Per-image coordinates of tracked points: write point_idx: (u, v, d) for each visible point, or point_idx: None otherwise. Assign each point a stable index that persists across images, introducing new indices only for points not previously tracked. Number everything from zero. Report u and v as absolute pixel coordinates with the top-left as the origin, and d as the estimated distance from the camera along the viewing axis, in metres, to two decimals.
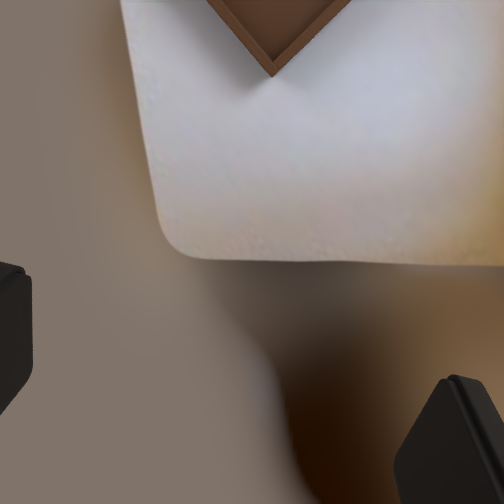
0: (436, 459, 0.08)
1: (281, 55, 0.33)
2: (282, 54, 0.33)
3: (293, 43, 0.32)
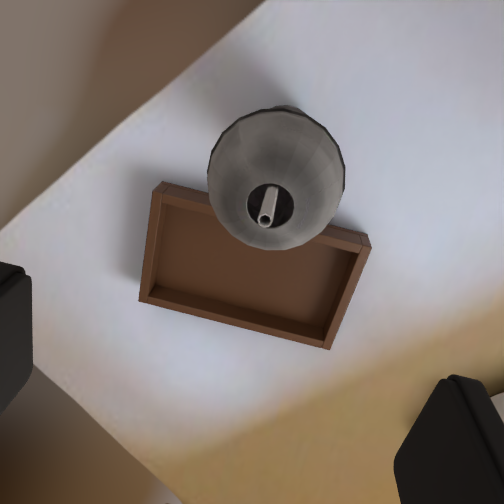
0: (436, 459, 0.08)
1: (156, 299, 0.37)
2: (157, 299, 0.37)
3: (170, 303, 0.37)
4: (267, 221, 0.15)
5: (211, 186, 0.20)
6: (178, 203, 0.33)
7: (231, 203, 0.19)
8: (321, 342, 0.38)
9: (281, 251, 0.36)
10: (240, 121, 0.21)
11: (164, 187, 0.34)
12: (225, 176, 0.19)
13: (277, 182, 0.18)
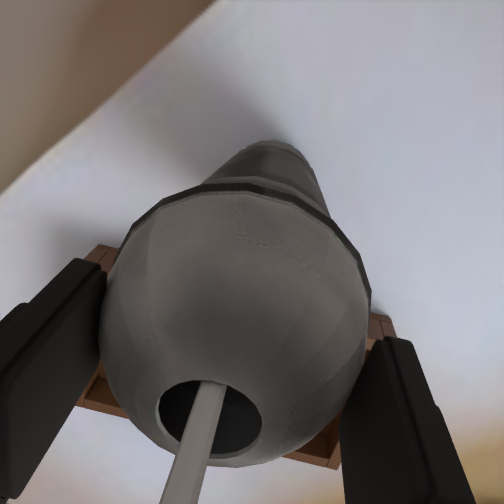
0: (367, 411, 0.09)
1: (96, 403, 0.27)
2: (98, 403, 0.27)
3: (115, 408, 0.27)
4: None
5: None
6: None
7: (128, 401, 0.09)
8: (325, 460, 0.27)
9: None
10: (162, 208, 0.10)
11: (98, 255, 0.24)
12: (117, 341, 0.09)
13: (221, 377, 0.08)
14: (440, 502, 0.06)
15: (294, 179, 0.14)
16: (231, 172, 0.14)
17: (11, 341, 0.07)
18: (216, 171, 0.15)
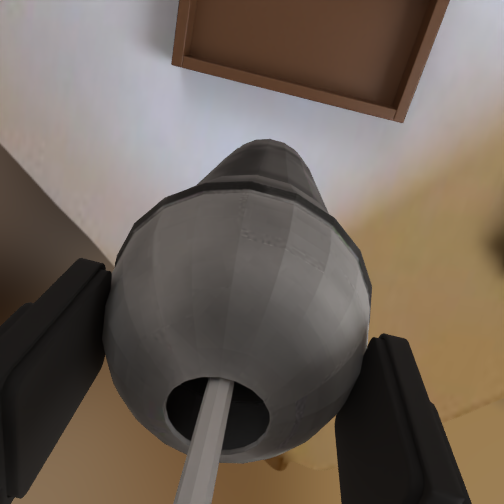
0: (363, 409, 0.09)
1: (194, 60, 0.31)
2: (195, 59, 0.31)
3: (210, 64, 0.31)
4: None
5: (103, 344, 0.10)
6: None
7: (135, 399, 0.09)
8: (393, 111, 0.31)
9: None
10: (164, 207, 0.10)
11: None
12: (123, 340, 0.09)
13: (230, 374, 0.08)
14: (434, 498, 0.06)
15: (292, 177, 0.14)
16: (230, 171, 0.14)
17: (17, 341, 0.07)
18: (214, 170, 0.15)
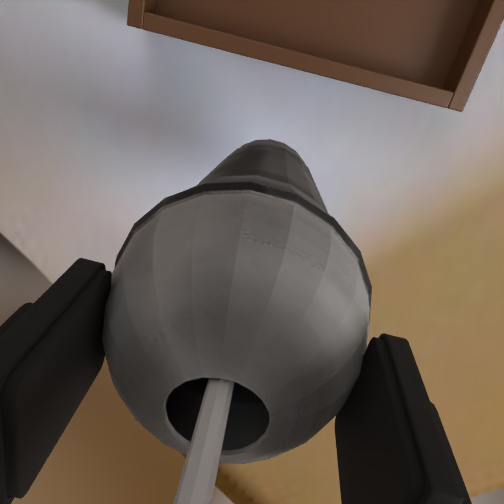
0: (363, 409, 0.09)
1: (159, 18, 0.21)
2: (161, 17, 0.21)
3: (183, 24, 0.21)
4: None
5: (103, 345, 0.10)
6: None
7: (135, 400, 0.09)
8: (449, 95, 0.21)
9: None
10: (164, 208, 0.10)
11: None
12: (123, 341, 0.09)
13: (230, 374, 0.08)
14: (433, 498, 0.06)
15: (292, 178, 0.14)
16: (230, 171, 0.14)
17: (17, 341, 0.07)
18: (214, 170, 0.15)
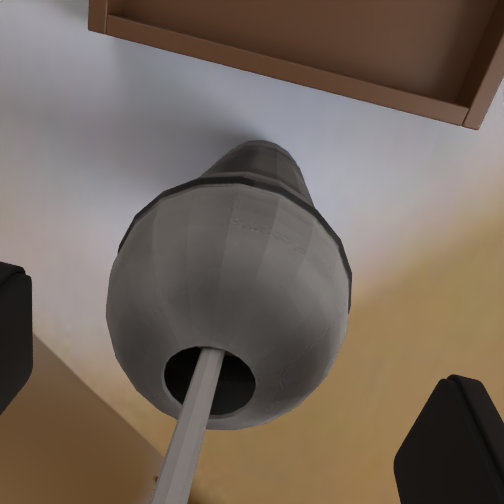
0: (436, 459, 0.08)
1: (125, 21, 0.18)
2: (127, 21, 0.18)
3: (153, 28, 0.18)
4: None
5: (107, 323, 0.11)
6: None
7: (136, 370, 0.10)
8: (463, 111, 0.18)
9: None
10: (163, 200, 0.12)
11: None
12: (126, 317, 0.10)
13: (220, 343, 0.09)
14: None
15: (281, 175, 0.15)
16: (224, 168, 0.15)
17: None
18: (209, 168, 0.17)
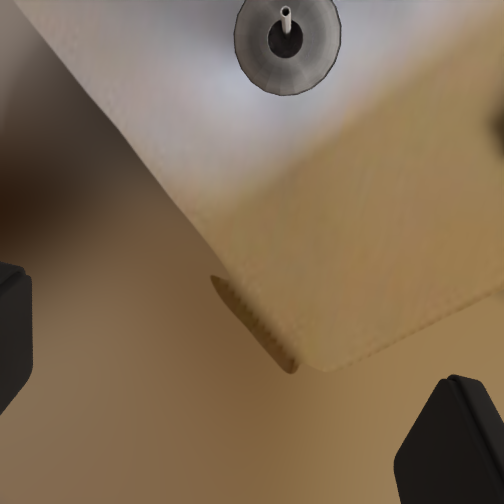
0: (436, 459, 0.08)
1: None
2: None
3: None
4: (286, 17, 0.21)
5: (239, 33, 0.27)
6: None
7: (255, 40, 0.26)
8: None
9: None
10: None
11: None
12: (251, 20, 0.26)
13: (290, 18, 0.25)
14: None
15: None
16: None
17: None
18: None
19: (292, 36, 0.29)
